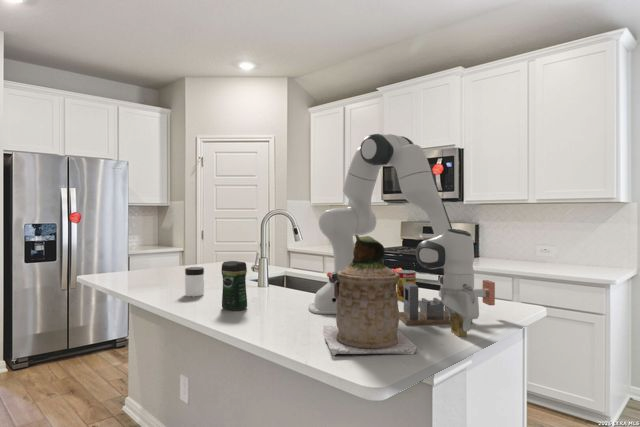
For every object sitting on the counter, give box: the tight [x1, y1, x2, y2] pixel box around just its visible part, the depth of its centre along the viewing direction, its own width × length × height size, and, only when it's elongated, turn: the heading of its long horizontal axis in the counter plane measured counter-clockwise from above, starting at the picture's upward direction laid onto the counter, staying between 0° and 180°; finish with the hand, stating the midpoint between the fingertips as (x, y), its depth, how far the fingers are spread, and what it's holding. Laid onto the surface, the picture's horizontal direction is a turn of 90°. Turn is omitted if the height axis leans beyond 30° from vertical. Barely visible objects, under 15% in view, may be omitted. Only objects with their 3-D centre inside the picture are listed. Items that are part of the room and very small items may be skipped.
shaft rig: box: [399, 283, 473, 326], centre depth 156 cm, size 23×12×12 cm, turn 96°
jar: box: [184, 266, 205, 298], centre depth 201 cm, size 9×8×12 cm
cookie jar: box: [322, 234, 418, 356], centre depth 131 cm, size 25×25×32 cm
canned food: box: [396, 269, 417, 302], centre depth 189 cm, size 8×8×12 cm
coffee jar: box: [220, 260, 248, 311], centre depth 174 cm, size 10×8×19 cm
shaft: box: [438, 279, 496, 306], centre depth 157 cm, size 19×5×8 cm, turn 96°
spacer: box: [450, 313, 468, 338], centre depth 138 cm, size 2×6×6 cm, turn 6°
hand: (459, 326), depth 138 cm, fingers open, 8 cm apart
